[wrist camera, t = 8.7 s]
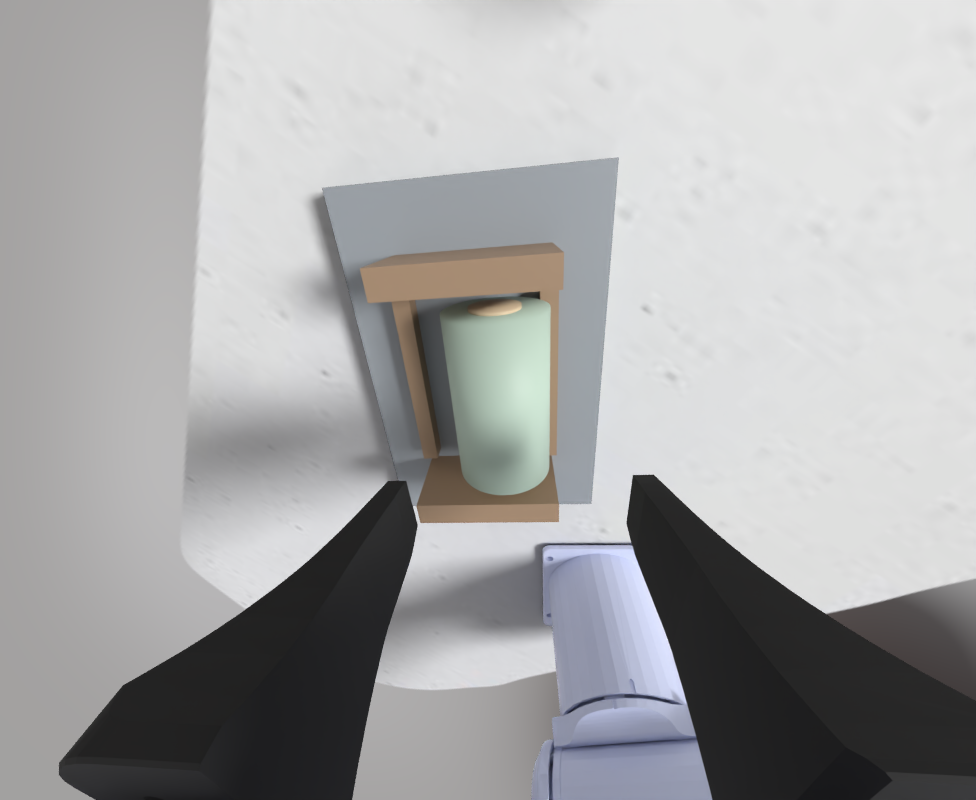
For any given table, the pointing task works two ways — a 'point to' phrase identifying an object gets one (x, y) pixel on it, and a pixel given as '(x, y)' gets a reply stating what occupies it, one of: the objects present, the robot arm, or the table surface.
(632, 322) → the table surface
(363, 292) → the holder
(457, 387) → the roll
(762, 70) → the table surface
